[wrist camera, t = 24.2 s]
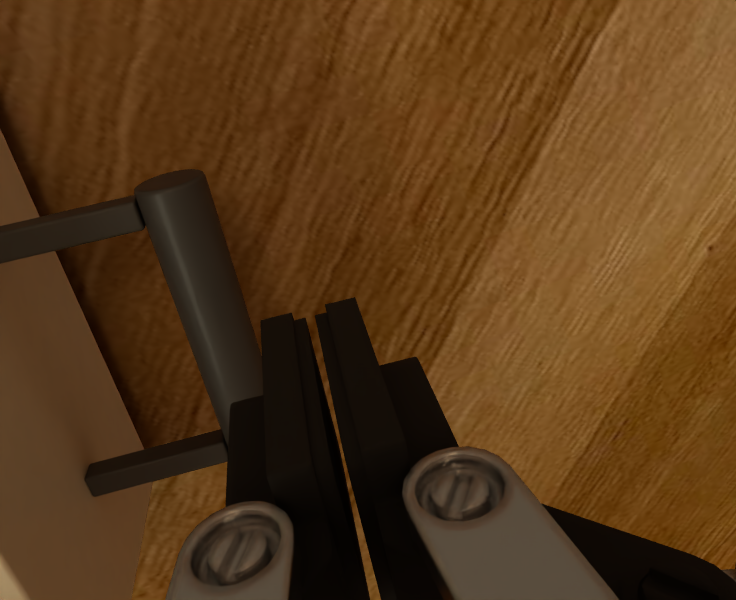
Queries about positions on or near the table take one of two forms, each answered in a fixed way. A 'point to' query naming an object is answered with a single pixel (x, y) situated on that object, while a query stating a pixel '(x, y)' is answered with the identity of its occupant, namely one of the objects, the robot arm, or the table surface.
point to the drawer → (101, 385)
